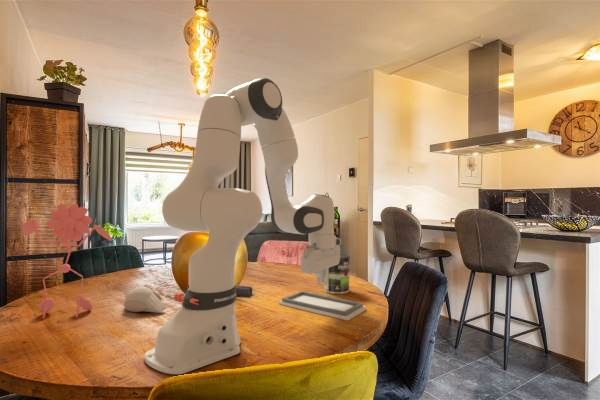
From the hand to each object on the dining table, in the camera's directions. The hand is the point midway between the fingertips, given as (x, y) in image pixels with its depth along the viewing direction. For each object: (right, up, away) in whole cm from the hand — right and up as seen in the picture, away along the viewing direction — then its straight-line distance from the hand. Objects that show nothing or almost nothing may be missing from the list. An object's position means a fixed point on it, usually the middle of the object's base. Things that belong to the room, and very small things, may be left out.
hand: (321, 282), depth 114 cm
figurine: (-81, -8, -7) cm, 82 cm away
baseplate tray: (0, -8, -1) cm, 8 cm away
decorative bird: (-53, -10, -7) cm, 54 cm away
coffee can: (+7, -9, +20) cm, 23 cm away
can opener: (-35, -6, +17) cm, 39 cm away
